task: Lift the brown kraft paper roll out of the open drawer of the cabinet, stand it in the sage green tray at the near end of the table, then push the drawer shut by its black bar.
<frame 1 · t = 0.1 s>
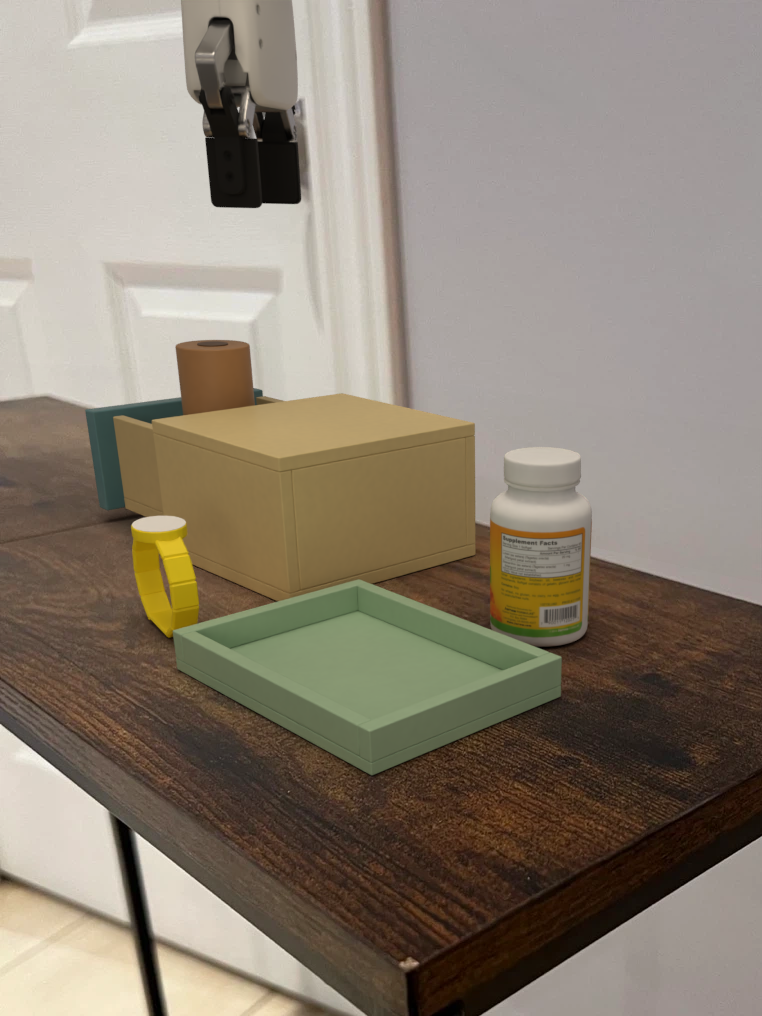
hand: (259, 205, 78), 20 cm above the table, tool pointing down, fingers open, 9 cm apart
watch: (171, 631, 63), on the table
cabinet: (323, 554, 75), on the table
supplement bottle: (538, 634, 63), on the table
tray: (365, 682, 57), on the table
drawer: (209, 455, 81), point 4 cm above the table, slide at 9.0 cm, touching paper roll
paper roll: (227, 492, 81), point 2 cm above the table, touching drawer
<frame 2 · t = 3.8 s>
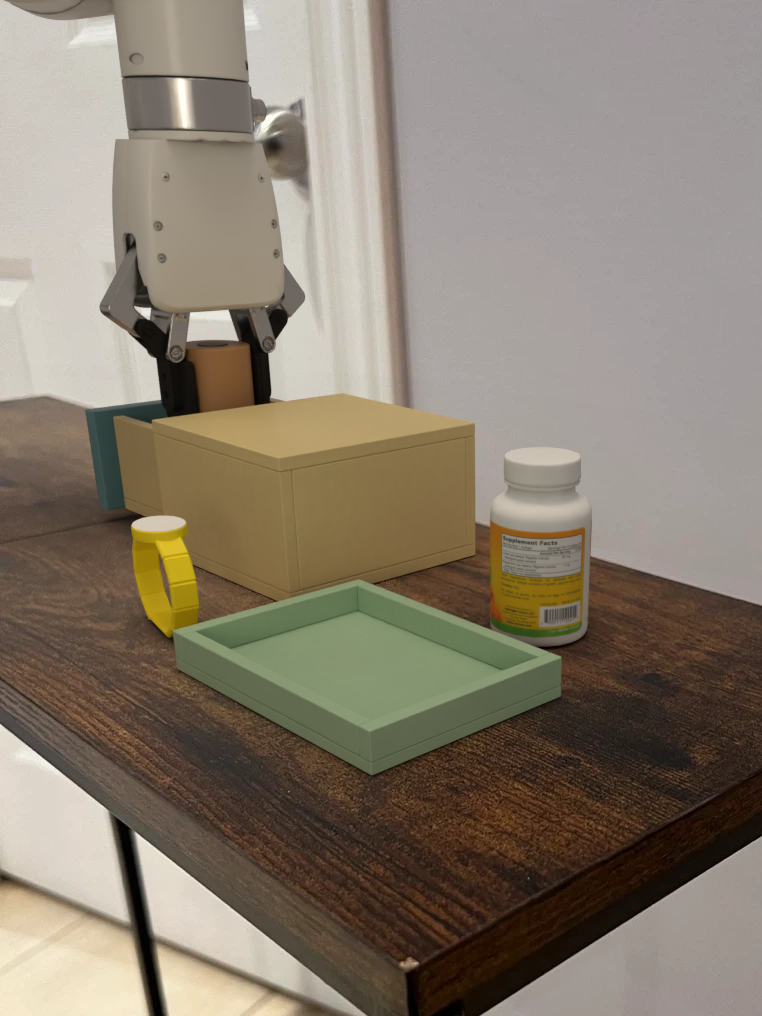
hand: (219, 413, 78), 8 cm above the table, tool pointing down, fingers closed on paper roll, 4 cm apart
paper roll: (227, 492, 81), point 2 cm above the table, touching drawer, gripper
everything else where it was.
when the fingers open (6 cm above the table, at t = 11.8 s): paper roll stays where it is, resting on tray.
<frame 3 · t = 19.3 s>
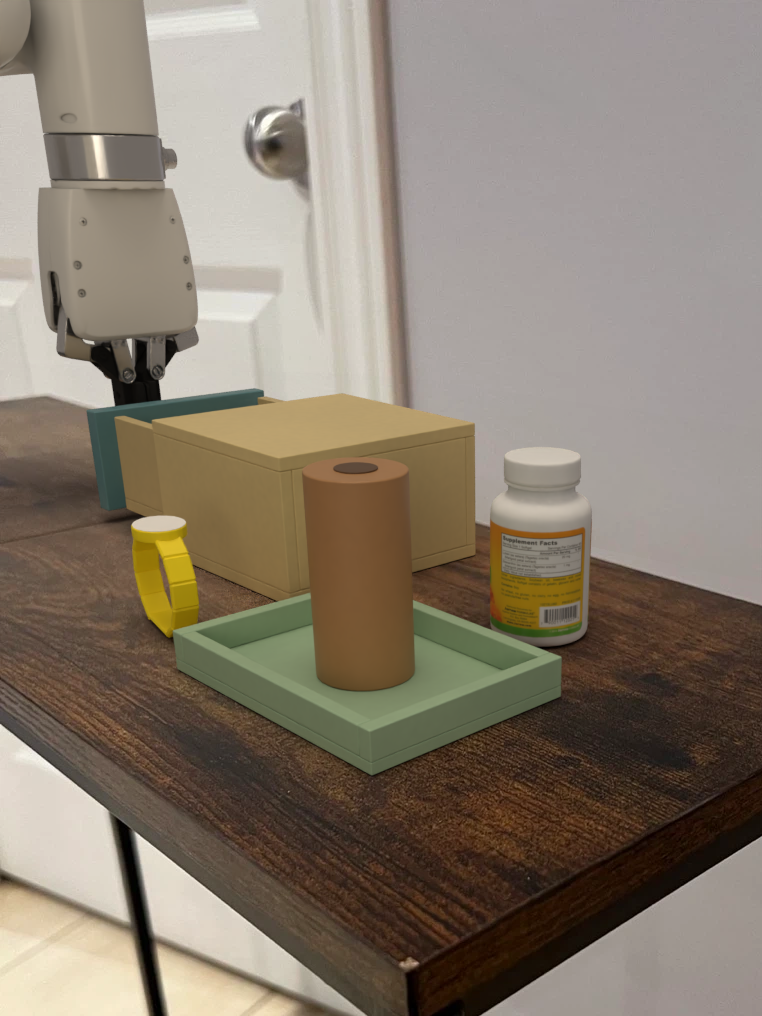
hand: (142, 433, 87), 4 cm above the table, tool pointing down, fingers closed
drawer: (211, 455, 81), point 4 cm above the table, slide at 8.8 cm, touching gripper
paper roll: (365, 671, 56), point 1 cm above the table, touching tray
everything else where it was.
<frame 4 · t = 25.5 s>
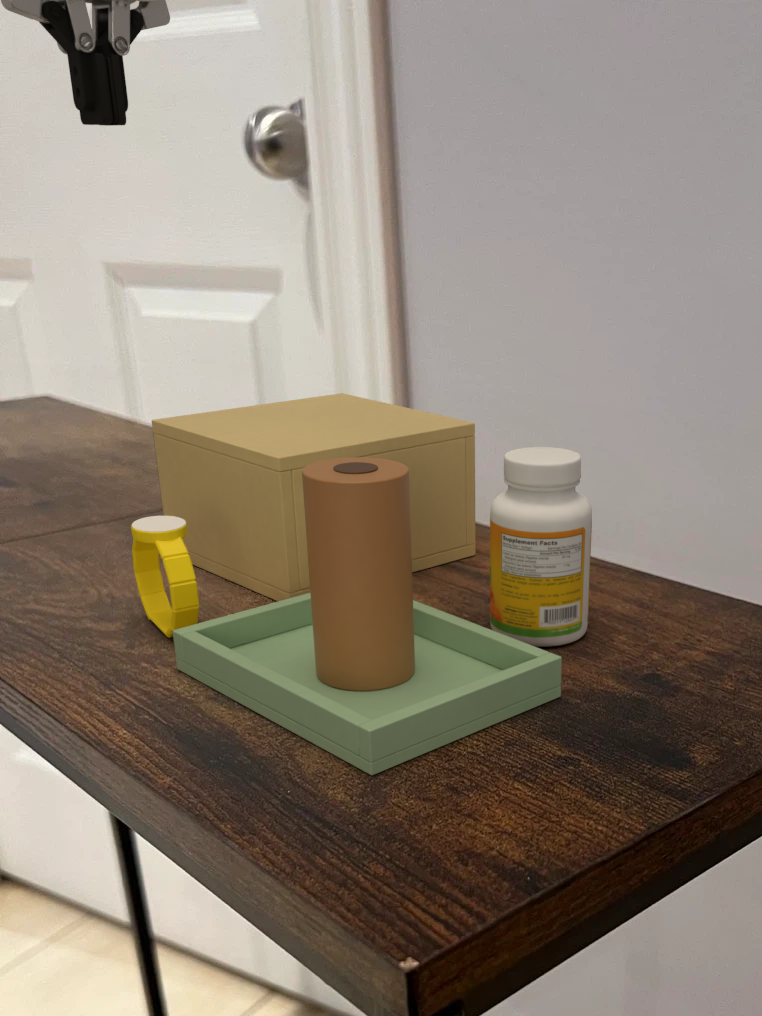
hand: (103, 124, 76), 25 cm above the table, tool pointing down, fingers closed
drawer: (283, 478, 75), point 4 cm above the table, slide at 0.0 cm
everything else where it was.
at the end: paper roll inside the target area in the tray (0.1 cm from its centre), point 0.6 cm above the tray's base; paper roll tilted 0°; drawer slide at 0.0 cm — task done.
